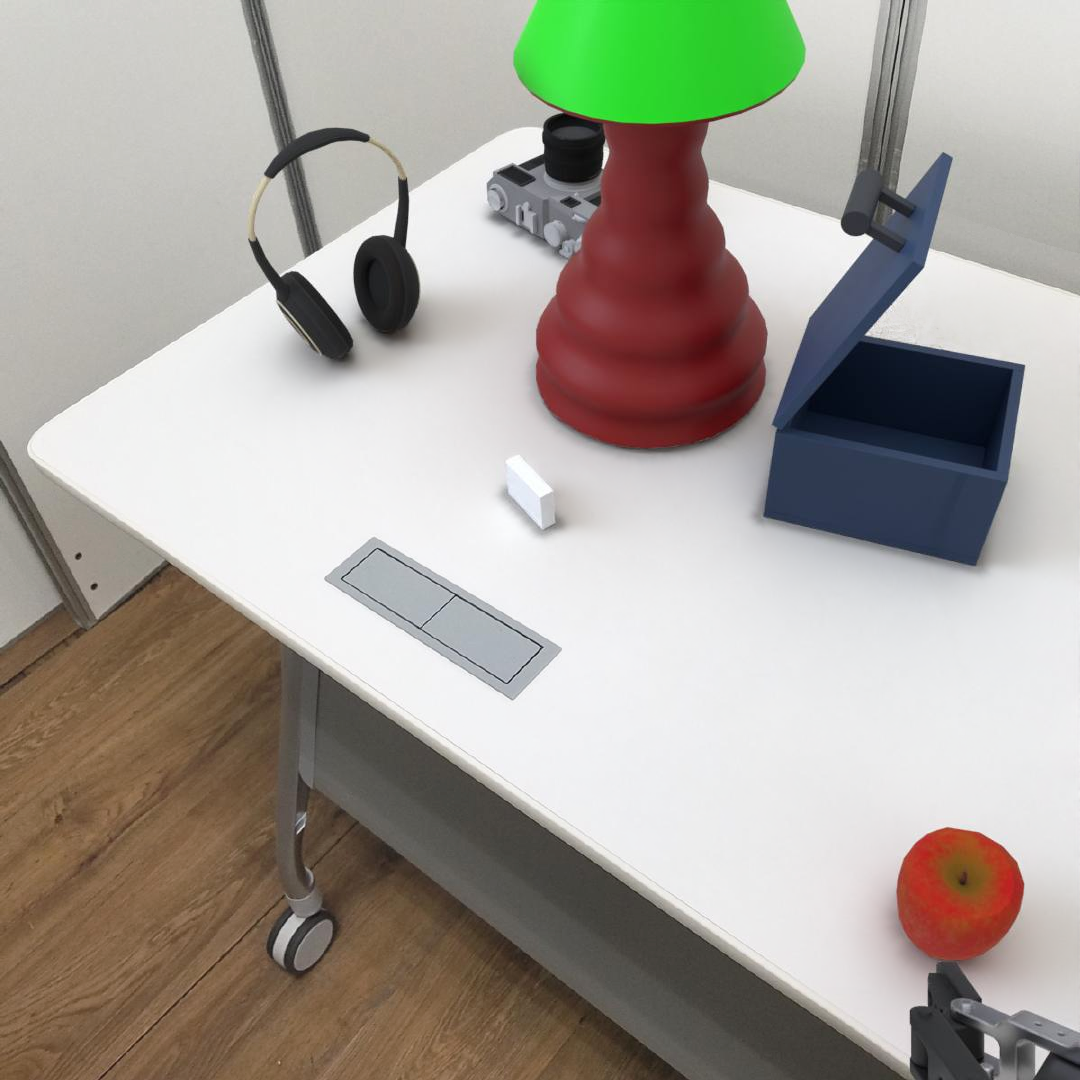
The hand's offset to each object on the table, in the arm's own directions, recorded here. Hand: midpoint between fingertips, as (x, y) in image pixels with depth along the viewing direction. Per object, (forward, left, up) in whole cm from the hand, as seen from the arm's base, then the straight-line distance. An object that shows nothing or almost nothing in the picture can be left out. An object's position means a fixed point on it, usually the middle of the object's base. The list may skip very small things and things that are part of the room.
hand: (1043, 981), depth 48 cm
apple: (+3, -7, -13) cm, 15 cm away
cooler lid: (+16, -41, +3) cm, 44 cm away
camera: (+47, -68, -13) cm, 84 cm away
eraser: (+37, -30, -13) cm, 49 cm away
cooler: (+12, -41, -13) cm, 45 cm away
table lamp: (+33, -48, -13) cm, 60 cm away
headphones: (+60, -45, -13) cm, 76 cm away
